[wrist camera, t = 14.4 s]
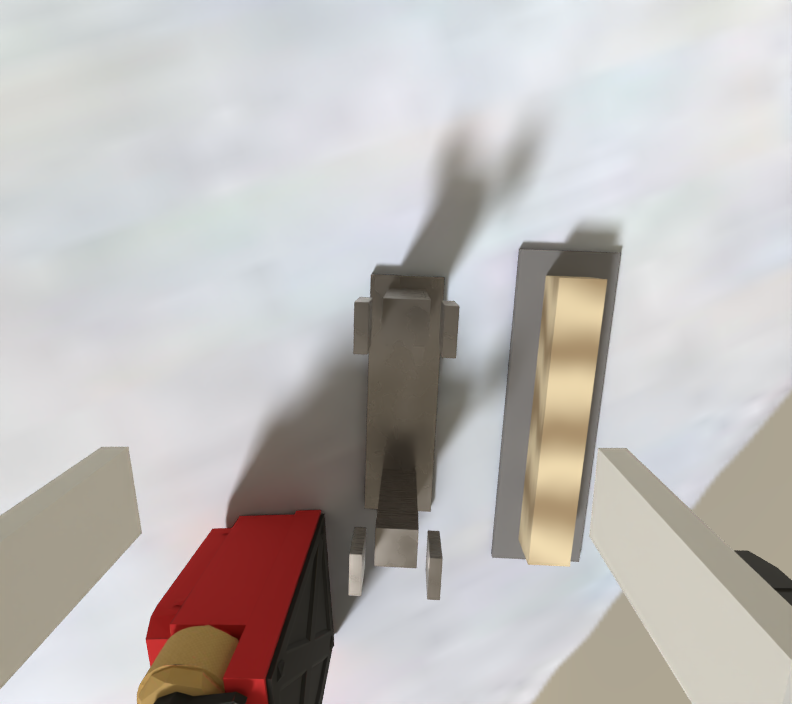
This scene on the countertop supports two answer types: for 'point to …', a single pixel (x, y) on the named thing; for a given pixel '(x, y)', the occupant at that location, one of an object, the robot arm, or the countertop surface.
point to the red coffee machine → (246, 618)
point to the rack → (401, 416)
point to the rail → (560, 416)
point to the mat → (522, 384)
